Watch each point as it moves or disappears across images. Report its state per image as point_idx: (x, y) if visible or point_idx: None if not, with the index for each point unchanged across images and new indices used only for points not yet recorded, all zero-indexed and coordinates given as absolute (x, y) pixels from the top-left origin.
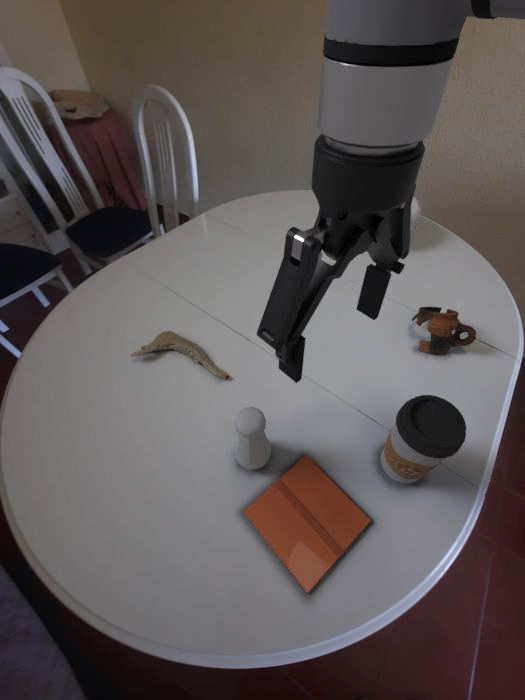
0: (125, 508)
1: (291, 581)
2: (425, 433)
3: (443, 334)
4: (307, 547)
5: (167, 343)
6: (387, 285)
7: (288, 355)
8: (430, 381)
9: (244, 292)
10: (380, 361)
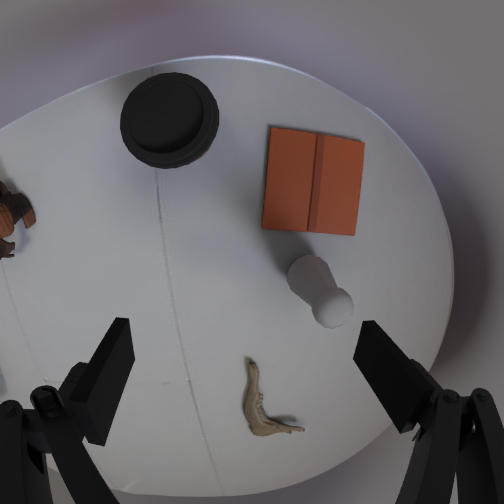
0: (405, 310)
1: (365, 159)
2: (194, 114)
3: (7, 211)
4: (338, 164)
5: (268, 425)
6: (83, 375)
7: (423, 374)
8: (62, 180)
9: (146, 424)
10: (80, 245)
